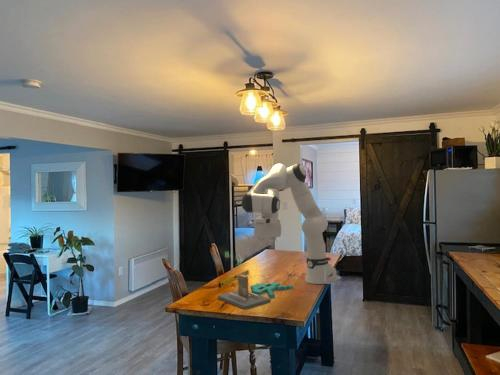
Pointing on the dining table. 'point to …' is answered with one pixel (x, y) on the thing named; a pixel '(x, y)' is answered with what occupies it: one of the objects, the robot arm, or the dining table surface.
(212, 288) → the dining table surface
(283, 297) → the dining table surface
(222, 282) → the spirit level
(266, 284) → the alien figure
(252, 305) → the plate
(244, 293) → the grey brown upright block
